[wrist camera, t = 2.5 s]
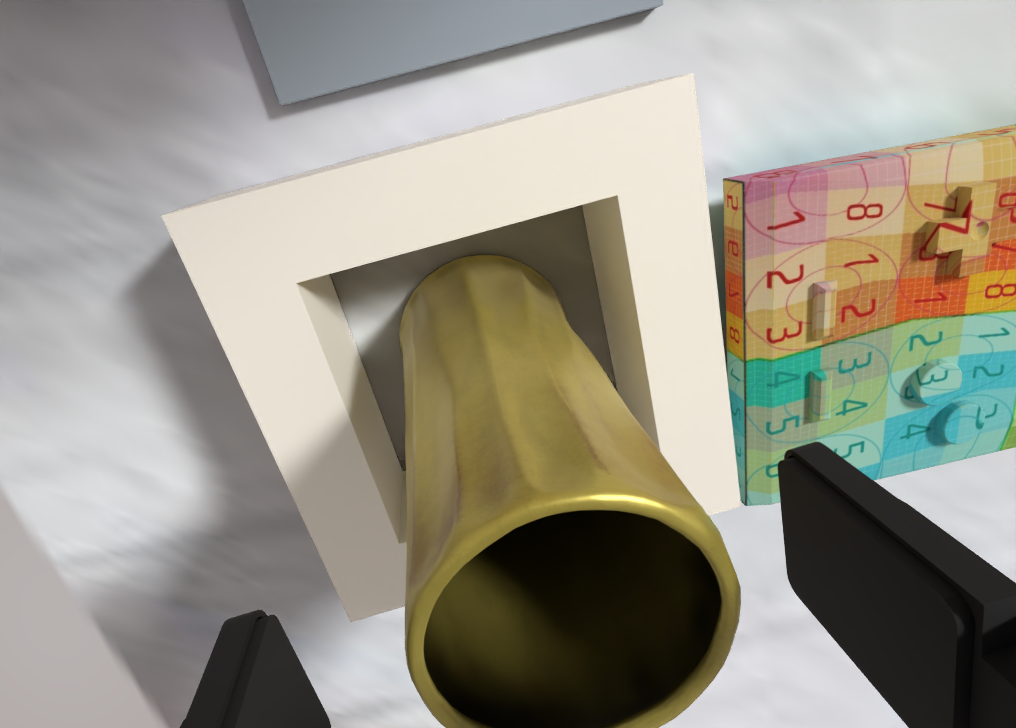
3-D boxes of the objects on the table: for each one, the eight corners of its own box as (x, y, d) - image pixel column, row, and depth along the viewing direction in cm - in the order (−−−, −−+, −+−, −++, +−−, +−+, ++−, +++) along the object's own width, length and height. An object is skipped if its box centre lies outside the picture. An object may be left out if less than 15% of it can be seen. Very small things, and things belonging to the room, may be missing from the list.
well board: (216, 196, 19) (161, 215, 15) (635, 83, 20) (693, 72, 16) (361, 538, 25) (350, 621, 21) (687, 443, 25) (741, 506, 21)
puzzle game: (758, 184, 17) (1379, 68, 18) (689, 173, 21) (1196, 79, 23) (758, 521, 22) (1258, 407, 23) (701, 455, 26) (1124, 363, 27)
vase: (552, 414, 24) (719, 771, 11) (394, 406, 23) (363, 792, 10) (576, 262, 22) (822, 471, 9) (404, 245, 21) (381, 456, 7)
